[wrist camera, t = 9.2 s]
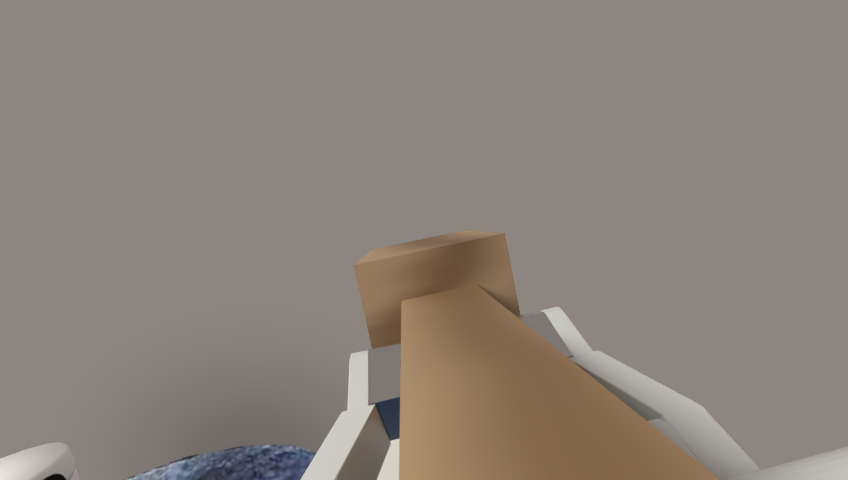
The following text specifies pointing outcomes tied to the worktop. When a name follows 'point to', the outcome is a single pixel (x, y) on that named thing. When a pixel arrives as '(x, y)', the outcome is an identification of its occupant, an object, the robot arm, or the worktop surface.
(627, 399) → the robot arm
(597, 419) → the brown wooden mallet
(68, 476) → the milk container
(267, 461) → the worktop surface
